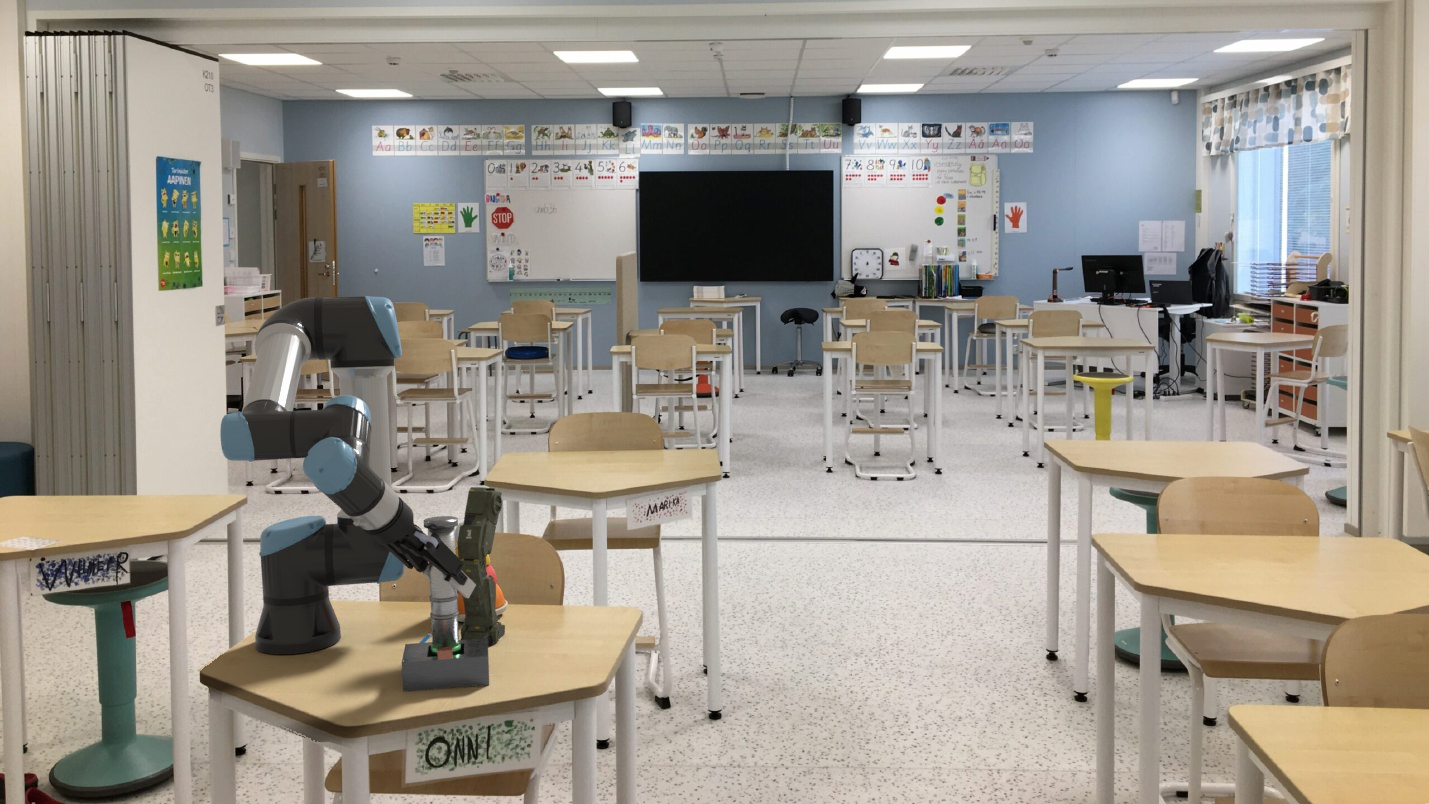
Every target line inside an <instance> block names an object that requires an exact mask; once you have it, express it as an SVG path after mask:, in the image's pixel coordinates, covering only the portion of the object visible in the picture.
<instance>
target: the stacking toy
mask: <svg viewBox="0 0 1429 804" xmlns="http://www.w3.org/2000/svg"><path fill="white" fill-rule="evenodd" d="M463 524H464V520H462V521H461V522H458V525H457V526H455V542H456V543H457V542H458V536H459V530H460V526H462V525H463ZM455 553H456V556H457V557H458V546H455ZM463 560H464V559H463ZM486 572H487V576H486V577H489V575H491V576H492V577H493V578H494V582H495V584H496V606H495V611H496V614H497V617H499V615H501V614H503V613H504V612H505V611H506V610H507V608H508V604H509V603H508V601H507V600H506V599H505V597H504V593H503V591H502V589H501V588H500V586H499V585H498V584H497V583H498V575H497V574H496V573H497V572H496V571H495V569H494V568H493V566H492V565H491V557H490V554H487V557H486ZM457 593H458V599H457V604H458V611H459V616H458V622H460V623H461V622H463V623H465V607H464V601H463V595H462V594H461V593H460V592H459V591H458V590H457Z"/></svg>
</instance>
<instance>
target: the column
mask: <svg viewBox="0 0 1429 804" xmlns="http://www.w3.org/2000/svg"><path fill="white" fill-rule="evenodd" d="M458 519H459V518H458V517H456V516H450V515H447V516H446V515H440V516H432V517H427V518H425V519H424V520H423V528H424V529H427V535H428V536H431V534H432V533H437V534H438V535H439V537H440V539H441V540H442V542H443V543H444V544H445V545H446V546H447V547H448V548H449V549H450V550H451V551H452V552H453V553H454V554H455V555H456V553H455V548H456V540H455V529H456V527H457V526H458V524H459V520H458ZM428 563H429V562H428ZM429 573H430V580H429V593H430V594H429V601H430V613H429V614H430V615H429V616H430V620H431V632H432V635H431V642H432V645H431V654H432V655H434V656H438V653H437V650H438V647H450V646H453V655H456V654H458V653H460V652H461V643H460V642H459V640H460V635H459V634H460V631H459V621H458V616H459V611H458V604H457V599H458V593H457V589H456V588H455V587H454V586H453V585H452V584H450V583H449V582H448V581H445V580H444V579H445V576H446V575H445V574H443V573H442V572H441V571H439V570H438V569H437V568H436V567H434V566H433V565H432V564H431V563H429Z"/></svg>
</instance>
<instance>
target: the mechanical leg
mask: <svg viewBox="0 0 1429 804" xmlns="http://www.w3.org/2000/svg"><path fill="white" fill-rule="evenodd" d="M502 498H503V497H502V492H501V491H498V490H496V487H479V486H478V487H477V486H475V487H473V486H472V487H470V488H469V490H468V493H467V499H466V504H465V511H464V518H463V521H464V524H463V525H462V526H460V530H459V536H458V542H457V541H456V543H457V547H458V558H459V559H460V560H461V561H462V562H463V563H464V566H463V568H462V571H463V572H464V573H465V574H466V575H467V576H468V577H469V578H470V579H471V580H472V581H473V582H474V583H475V584H476V586H475V588H474V590H473V592H472V593H471V595H470V597H469V598H465V597H464V596H463V601H464V607H465V622H463V623H462V625H461V628H460V638H459V640H467V639H480V638H488V648H490V647H491V646H492V645H494V644H496V643H498V642H499V641H500V639H501V637H502V636H503V635H505V633H506V625H505V624H502V622H501V621H499V616H497V614H496V611H495V606H496V584H495V582H494V578H493V577H492V576H491V575H489V577H486V576H487V572H486V557H487V554H488V555H490V554H492V551H493V549H492V548H493V545H494V539H495V535H496V529H497V524H498V519H499V515H500V513H501V511H502V508H503V500H502ZM463 559H464V560H463ZM489 646H490V647H489Z"/></svg>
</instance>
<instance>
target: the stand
mask: <svg viewBox="0 0 1429 804" xmlns="http://www.w3.org/2000/svg"><path fill="white" fill-rule="evenodd" d="M459 642H460V643H461V652H460V653H458V654H456V655H453V646H450V647H438V650H437V653H438V656H434V655H432V654H431V645H432V641H429V642H428V641H426V642H425V643H420V642H416V643H405V644H404V649H403V653H402V658H401V682H402V693H407V692H409V693H410V692H418V691H419V692H420V691H421V692H422V691H434V690H443V689H444V690H445V689H458V688H469V687H481V686H482V687H483V686H484V687H485V686H490V664H489V647H488V638H480V639H467V640H460V639H459Z"/></svg>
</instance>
